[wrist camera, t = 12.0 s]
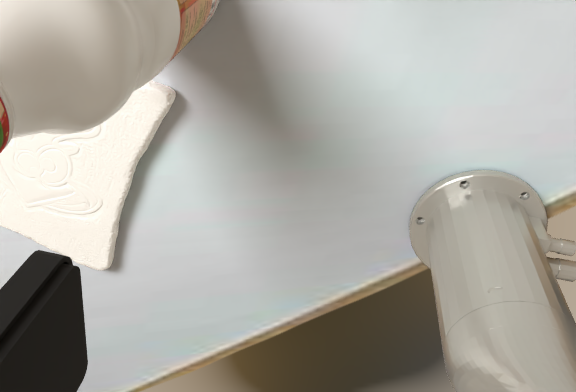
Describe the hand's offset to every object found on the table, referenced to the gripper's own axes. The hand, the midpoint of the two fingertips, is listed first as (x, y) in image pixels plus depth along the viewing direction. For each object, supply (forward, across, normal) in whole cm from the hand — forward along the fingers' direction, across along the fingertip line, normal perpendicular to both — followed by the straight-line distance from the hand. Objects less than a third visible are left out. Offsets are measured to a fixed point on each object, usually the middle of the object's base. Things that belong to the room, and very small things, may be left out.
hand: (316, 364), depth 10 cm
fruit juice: (+38, +16, +2) cm, 41 cm away
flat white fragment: (+38, +27, +20) cm, 51 cm away
